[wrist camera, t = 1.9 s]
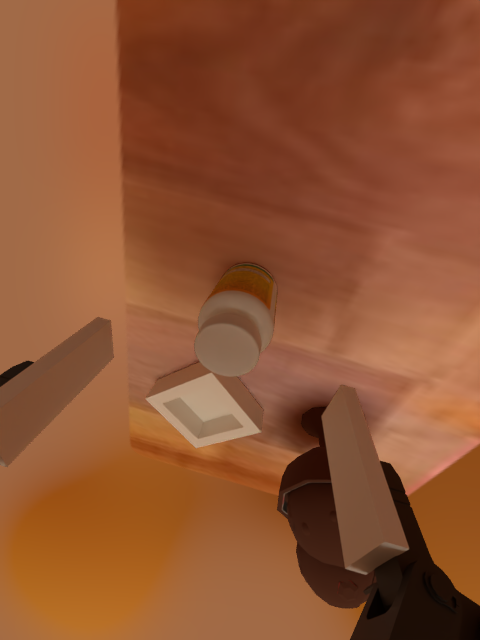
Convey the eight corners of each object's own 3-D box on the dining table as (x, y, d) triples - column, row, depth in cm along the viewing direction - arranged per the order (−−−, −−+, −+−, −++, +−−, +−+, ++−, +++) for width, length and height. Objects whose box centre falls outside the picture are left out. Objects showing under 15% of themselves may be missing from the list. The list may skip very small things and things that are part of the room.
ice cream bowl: (377, 446, 30) (442, 640, 18) (289, 449, 34) (290, 614, 21) (369, 385, 26) (448, 588, 13) (268, 396, 29) (253, 566, 16)
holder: (218, 353, 27) (211, 372, 24) (263, 410, 30) (261, 432, 28) (157, 379, 31) (145, 398, 28) (202, 427, 34) (195, 448, 32)
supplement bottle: (283, 307, 23) (282, 380, 15) (232, 319, 24) (204, 390, 16) (267, 253, 20) (255, 303, 12) (211, 270, 22) (167, 325, 14)
